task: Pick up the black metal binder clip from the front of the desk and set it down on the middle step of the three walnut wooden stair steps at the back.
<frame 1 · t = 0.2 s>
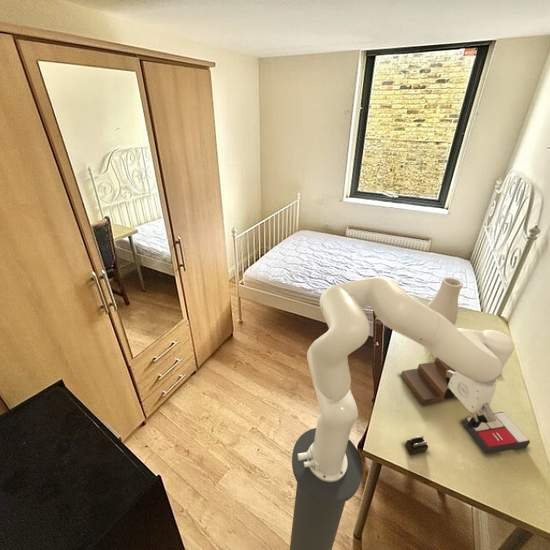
hand: (459, 411, 88), 17 cm above the table, tool pointing down, fingers open, 9 cm apart
wooden stair steps: (434, 385, 116), on the table
laptop: (469, 358, 130), on the table
red grey flat block: (492, 435, 99), on the table
vase: (433, 333, 144), on the table
clip: (415, 448, 94), on the table
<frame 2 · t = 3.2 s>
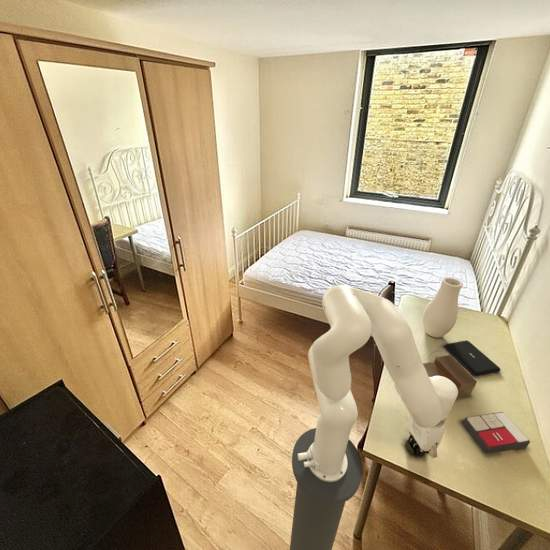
hand: (415, 448, 94), 0 cm above the table, tool pointing down, fingers closed on clip, 3 cm apart
clip: (415, 448, 94), on the table, touching gripper
everything else where it was.
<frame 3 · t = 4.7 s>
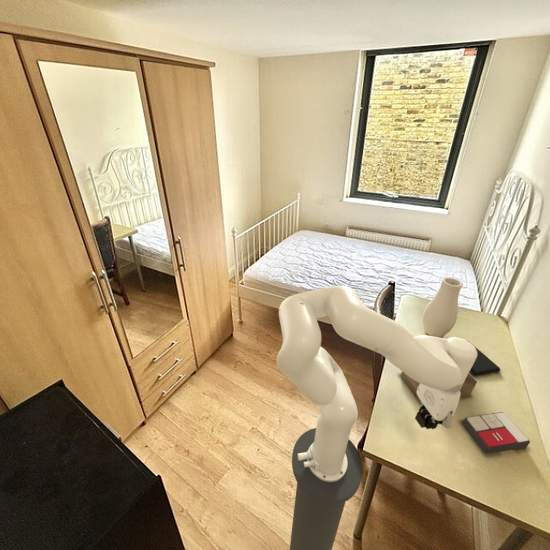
hand: (426, 421, 87), 14 cm above the table, tool pointing down, fingers closed on clip, 3 cm apart
clip: (426, 421, 88), point 14 cm above the table, touching gripper
everything else where it was.
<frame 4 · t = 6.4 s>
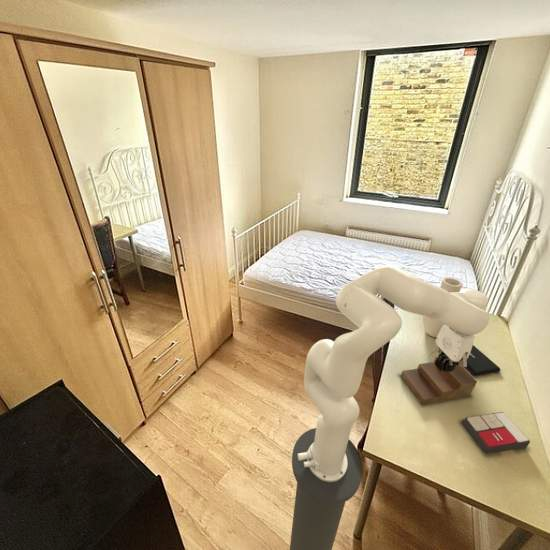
hand: (444, 366, 102), 18 cm above the table, tool pointing down, fingers closed on clip, 3 cm apart
clip: (444, 366, 102), point 18 cm above the table, touching gripper
everything else where it was.
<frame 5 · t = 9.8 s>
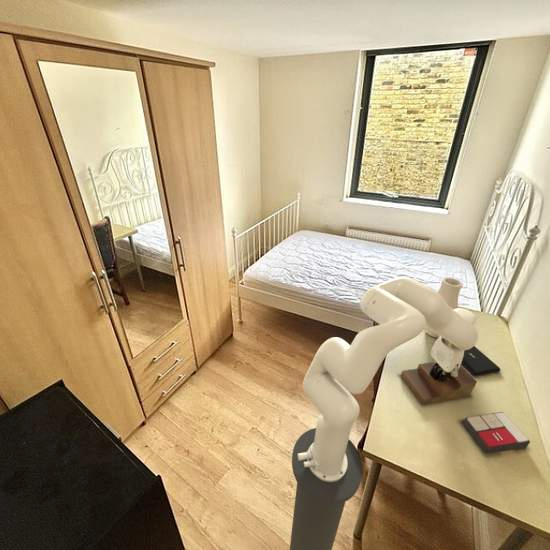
hand: (438, 375, 114), 6 cm above the table, tool pointing down, fingers closed on clip, 3 cm apart
clip: (438, 375, 114), point 5 cm above the table, touching gripper, wooden stair steps
everything else where it was.
when the fingers open (6 cm above the table, at t = 9.9 s): clip stays where it is, resting on wooden stair steps.
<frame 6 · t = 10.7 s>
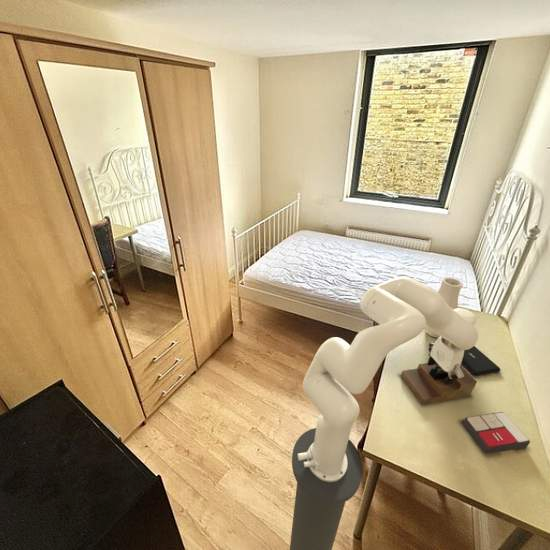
hand: (439, 373, 113), 7 cm above the table, tool pointing down, fingers open, 9 cm apart
clip: (438, 375, 114), point 5 cm above the table, touching wooden stair steps
everything else where it was.
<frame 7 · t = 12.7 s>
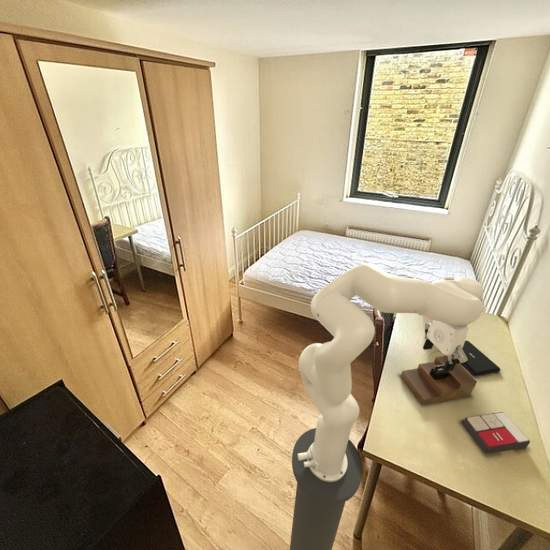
hand: (436, 359, 95), 25 cm above the table, tool pointing down, fingers open, 9 cm apart
nothing on the table moved.
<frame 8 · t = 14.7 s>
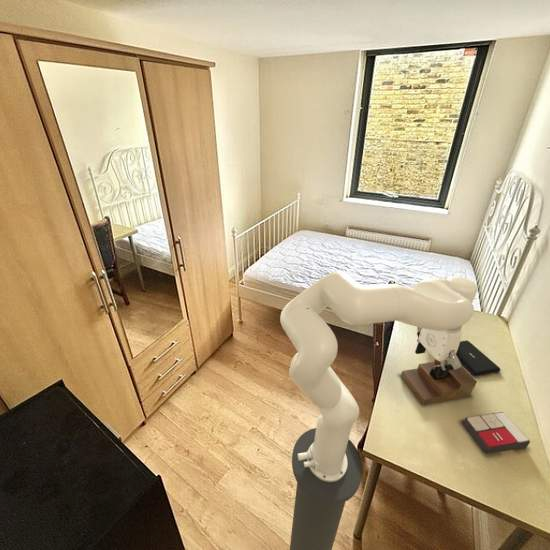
hand: (429, 364, 89), 28 cm above the table, tool pointing down, fingers open, 9 cm apart
nothing on the table moved.
at the end: clip inside the target area on the wooden stair steps (0.1 cm from its centre), point 5.5 cm above the wooden stair steps's base; the gripper is holding nothing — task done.
